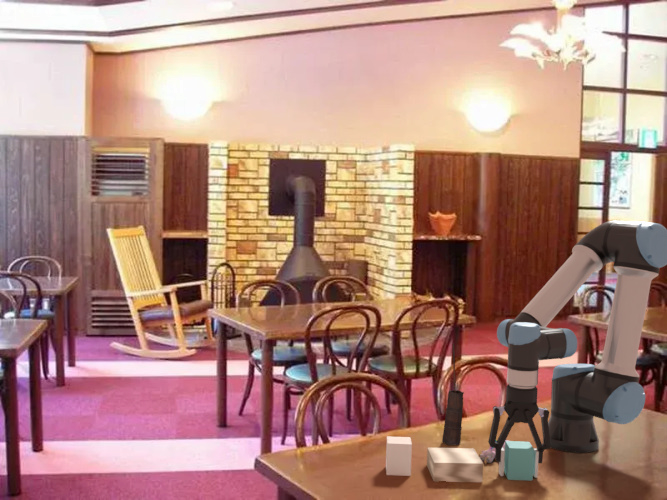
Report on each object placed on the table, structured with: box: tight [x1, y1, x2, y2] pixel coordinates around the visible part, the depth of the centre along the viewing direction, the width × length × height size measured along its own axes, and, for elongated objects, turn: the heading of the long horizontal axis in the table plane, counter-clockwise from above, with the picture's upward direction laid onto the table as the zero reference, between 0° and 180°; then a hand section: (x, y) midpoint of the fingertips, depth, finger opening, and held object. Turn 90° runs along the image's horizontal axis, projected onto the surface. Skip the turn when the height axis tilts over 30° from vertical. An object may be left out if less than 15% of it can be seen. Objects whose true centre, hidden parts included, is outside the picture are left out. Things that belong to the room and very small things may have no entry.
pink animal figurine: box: [478, 439, 510, 466], centre depth 222 cm, size 6×6×15 cm
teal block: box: [504, 440, 534, 482], centre depth 208 cm, size 6×6×8 cm
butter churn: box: [441, 343, 465, 446], centre depth 233 cm, size 9×10×28 cm
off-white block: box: [385, 435, 413, 477], centre depth 209 cm, size 6×6×8 cm
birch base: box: [426, 447, 484, 483], centre depth 209 cm, size 12×12×5 cm
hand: (518, 474), depth 209 cm, fingers open, 8 cm apart
